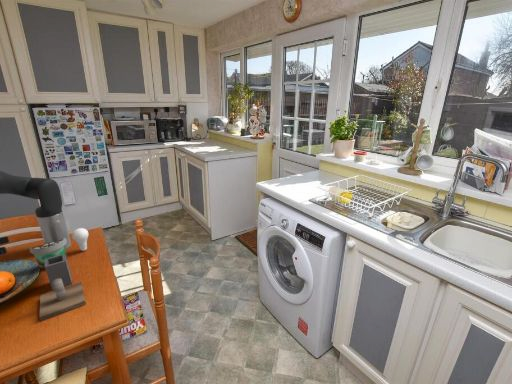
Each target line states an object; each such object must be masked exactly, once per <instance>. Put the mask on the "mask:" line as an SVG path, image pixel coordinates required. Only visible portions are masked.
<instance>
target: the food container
mask: <svg viewBox="0 0 512 384" xmlns="http://www.w3.org/2000/svg"><path fill="white" fill-rule="evenodd" d="M66 243H67V240H66V239H65V238H64V239H62V240H59V241H55V242H49V243H46V244H45V243H44V244H41V245H39V246H38V245H37V246H35V247H31V246H30V247H29V253H30V254H32V255H34V258H35V259H36V262H37V264H38V266H39V265H40V266H39V267H41V268H40V269H42V270H46V269H45V259H47V258H51V257H54V256H58V255H62V254H65V256H66V260H67V261H68V254H67V249H66V245H65V244H66Z"/></svg>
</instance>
